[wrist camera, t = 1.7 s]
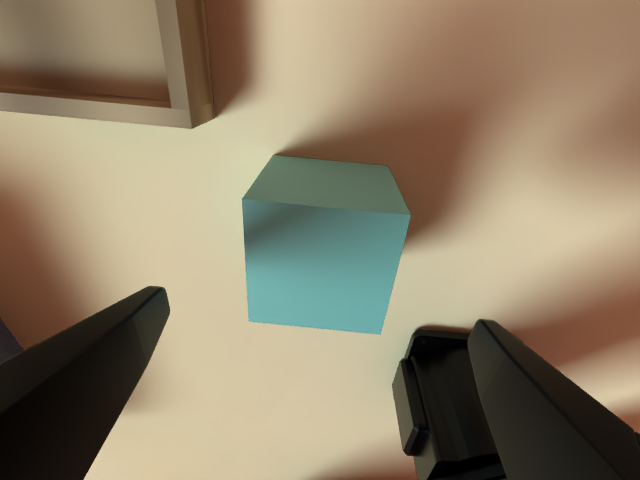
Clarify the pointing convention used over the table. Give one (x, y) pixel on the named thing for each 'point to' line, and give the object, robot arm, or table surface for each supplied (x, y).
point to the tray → (107, 60)
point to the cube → (322, 243)
